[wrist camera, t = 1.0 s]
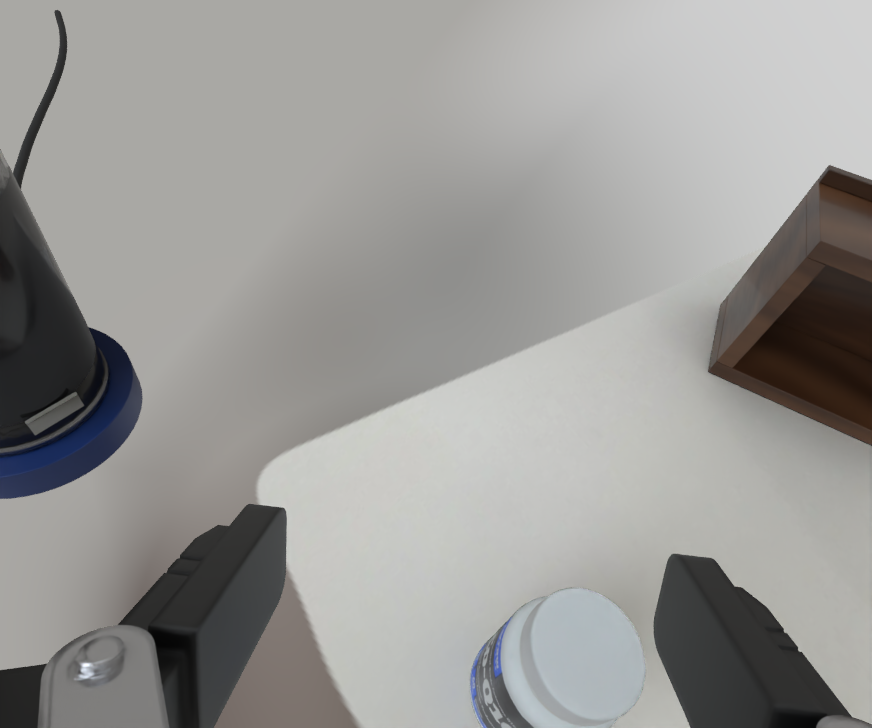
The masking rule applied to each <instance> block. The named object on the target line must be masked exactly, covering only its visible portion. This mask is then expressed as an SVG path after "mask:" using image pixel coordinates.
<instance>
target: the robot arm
mask: <svg viewBox="0 0 872 728" xmlns="http://www.w3.org/2000/svg"><path fill="white" fill-rule="evenodd" d="M55 16H56V20H57V23H58V27H59V33H60V48H59V55H58V59H57V63H56V67H55V70H54V73H53V76H52V78H51V80H50V83H49V86H48V88H47V90H46V92H45V94H44V97H43V99H42V101H41V103H40V105H39V107H38V109H37V111H36V113H35V116H34V118H33V120H32V123H31V125H30V127H29V129H28V132H27V134H26V137H25V139H24V141H23V144H22V147H21V150H20V153H19V156H18V159H17V162H16V165H15V168H14V172H13V173H12V171H11V169H10V167H9V166H8V164H7V162H6V160H5V158H4V156H3V154H2V152H1V149H0V458H1V457H9V456H15V455H20V454H24V453H28V452H31V451H35V450H37V449H40V448H43V447H45V446H48V445H50V444H52V443H54V442H56V441H58V440H60V439H62V438H64V437H66V436H67V435H69V434H70V433H72V432H73V431H75V430H76V429H78V428H79V427H80V426H81V425H83V424H84V423H85V422H86V421H87V420H88V419H89V418H90V417H91V416H92V415H93V414H94V413H95V412H96V411H97V409H98V408H99V407H100V405H101V404H102V402H103V401H104V399H105V397H106V395H107V392H108V389H109V385H110V369H109V366H108V363H107V361H106V359H105V357H104V355H103V353H102V351H101V350H100V349H99V347H98V346H97V345H96V343H95V341H94V339H93V337H92V334H91V332H90V330H89V328H88V326H87V324H86V321H85V319H84V317H83V315H82V313H81V311H80V309H79V307H78V305H77V303H76V301H75V299H74V297H73V295H72V293H71V291H70V289H69V287H68V285H67V283H66V281H65V279H64V277H63V275H62V273H61V271H60V269H59V267H58V265H57V262H56V260H55V258H54V256H53V254H52V252H51V250H50V248H49V246H48V245H47V242H46V240H45V238H44V236H43V234H42V232H41V230H40V228H39V226H38V224H37V222H36V220H35V218H34V216H33V214H32V212H31V210H30V208H29V206H28V203H27V202H26V199H25V197H24V195H23V193H22V191H21V184H22V179H23V175H24V172H25V169H26V166H27V162H28V159H29V156H30V152H31V149H32V146H33V143H34V141H35V138H36V136H37V133H38V131H39V128H40V126H41V124H42V121H43V119H44V116H45V114H46V112H47V109H48V107H49V105H50V103H51V101H52V99H53V96H54V94H55V92H56V89H57V86H58V84H59V81H60V78H61V76H62V73H63V69H64V65H65V60H66V53H67V36H66V30H65V25H64V22H63V19H62V15H61V12H60V11H58V10H55ZM286 524H287V517H286V511H285V509H284V508H280V507H271V506H263V505H254V504H248V505H247V506H246V507H245V508H244V509H243V510H242V511H241V512H240V514H239V515H238V516H237V517H236V519H235V520H234V521H233V522H232V523H231V525H230V526H221V525H217V526H216V527H214V528H212V529H211V530H209V531H207V532H205V533H204V534H202V535H200V536H199V537H197V538H195V539H194V541H193V542H192V543H191V544H190V545H189V546H188V547H187V548H186V549H185V551H184V552H183V553H182V554H181V555H180V558H179V559H177V560H176V561H175V562H174V563H173V564H172V565H171V566H170V567H169V568H168V571H167V573H164V574H163V575H162V576H161V577H160V578H159V580H158V581H157V582H156V583H155V584H154V585H153V586H152V587H151V588H150V590H149V591H148V592H147V593H146V594H145V595H144V596H143V597H142V599H141V600H140V601H139V602H138V603H137V604H136V605H135V606H134V607H133V609H132V610H131V611H130V612H129V613H128V614H127V615H126V616H125V617H124V619H123V620H122V621H121V622H120V623H119V624H118V625H115V626H109V627H104V628H100V629H97V630H94V631H91V632H89V633H86V634H84V635H82V636H80V637H78V638H76V639H74V640H73V641H71V642H70V643H68V644H67V645H65V646H64V647H63V648H61V650H59V651H58V652H57V653H56V654H55V655H54V656H53V657H52V658H51V660H50V661H49V662H48V664H43V665H37V666H29V667H21V668H14V669H7V670H0V728H214V726H215V724H216V722H217V720H218V718H219V716H220V714H221V712H222V710H223V709H224V707H225V705H226V703H227V701H228V699H229V697H230V695H231V693H232V691H233V689H234V687H235V685H236V684H237V682H238V680H239V678H240V676H241V674H242V672H243V670H244V668H245V666H246V664H247V662H248V660H249V658H250V657H251V655H252V652H253V651H254V649H255V647H256V645H257V643H258V641H259V639H260V637H261V635H262V633H263V632H264V630H265V628H266V626H267V624H268V622H269V620H270V618H271V616H272V614H273V612H274V610H275V608H276V607H277V605H278V603H279V600H280V597H281V594H282V591H283V587H284V582H285V575H286ZM654 638H655V644H656V648H657V651H658V654H659V656H660V658H661V660H662V663H663V665H664V667H665V670H666V672H667V674H668V676H669V679H670V681H671V683H672V686H673V688H674V690H675V692H676V695H677V697H678V699H679V702H680V704H681V706H682V709H683V711H684V713H685V715H686V718H687V720H688V722H689V725H690V727H691V728H872V724H869V723H867V722H864V721H862V720H859V719H856V718H852V716H851V715H850V714H849V713H848V711H847V710H846V709H845V707H844V706H843V705H842V703H841V702H840V701H839V700H838V698H837V697H836V696H835V694H834V693H833V692H832V691H831V689H830V688H829V687H828V685H827V684H826V683H825V682H824V680H823V679H822V678H821V676H820V675H819V674H818V673H817V671H816V670H815V669H814V667H813V666H812V665H811V664H810V662H809V661H808V660H807V658H806V657H805V656H804V655H803V653H802V652H798V647H797V646H796V644H795V643H794V642H793V640H792V639H791V638H790V637H789V635H788V634H787V633H784V629H783V628H782V626H781V625H780V624H779V622H778V621H777V620H776V619H775V617H774V616H773V615H772V613H771V612H770V611H769V610H768V608H767V607H766V606H765V605H763V604H762V603H761V602H759V601H758V600H757V599H756V598H754V597H753V596H752V595H751V594H749V593H748V592H747V591H745V590H744V589H743V588H741V587H734V585H733V584H732V583H731V581H730V580H729V578H728V577H727V576H726V574H725V573H724V572H723V570H722V569H721V567H720V566H719V565H718V563H717V562H716V561H715V560H714V559H712V558H706V557H697V556H689V555H680V554H672V555H671V556H670V557H669V559H668V561H667V565H666V569H665V573H664V578H663V582H662V586H661V591H660V595H659V599H658V604H657V608H656V612H655V617H654Z"/></svg>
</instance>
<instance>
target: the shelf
mask: <svg viewBox="0 0 872 728" xmlns="http://www.w3.org/2000/svg"><path fill="white" fill-rule="evenodd" d="M708 372H710V373H712V374H714V375H717V376H719V377H721V378H723V379H725V380H728V381H730V382H732V383H734V384H737V385H739V386H741V387H743V388H745V389H748V390H750V391H752V392H754V393H757V394H759V395H761V396H763V397H765V398H768V399H770V400H772V401H774V402H777V403H779V404H781V405H783V406H785V407H788V408H790V409H792V410H794V411H797V412H799V413H801V414H803V415H806V416H808V417H810V418H812V419H814V420H817V421H819V422H821V423H823V424H826V425H828V426H830V427H832V428H834V429H837V430H839V431H841V432H843V433H846V434H848V435H850V436H852V437H854V438H857V439H859V440H861V441H863V442H866V443H868V444H870V445H872V180H870V179H867V178H864V177H861V176H859V175H856V174H853V173H850V172H847V171H844V170H841V169H839V168H836V167H833V166H830V165H829V166H828V167H827V169H826V170H825V171H824V172H823V174H822V175H821V176H820V178H819V179H818V180H817V181H816V183H815V184H814V185H813V186H812V188H811V189H810V190H809V192H808V193H807V195H806V196H805V197H804V198H803V200H802V201H801V202H800V203H799V205H798V206H797V207H796V208H795V210H794V211H793V212H792V214H791V215H790V216H789V217H788V219H787V220H786V221H785V223H784V224H783V225H782V227H781V228H780V229H779V230H778V232H777V233H776V234H775V236H774V237H773V238H772V239H771V241H770V242H769V243H768V245H767V246H766V247H765V248H764V250H763V251H762V252H761V254H760V255H759V256H758V257H757V259H756V260H755V261H754V263H753V264H752V265H751V266H750V268H749V269H748V270H747V272H746V273H745V274H744V275H743V277H742V278H741V279H740V281H739V282H738V283H737V285H736V286H735V287H734V288H733V290H732V291H731V292H730V294H729V295H728V296H727V297H726V299H725V300H724V301H723V303H722V304H721V306H720V311H719V316H718V321H717V327H716V332H715V337H714V342H713V348H712V353H711V358H710V363H709V369H708Z"/></svg>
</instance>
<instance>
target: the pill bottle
mask: <svg viewBox="0 0 872 728" xmlns="http://www.w3.org/2000/svg"><path fill="white" fill-rule="evenodd" d="M645 674H646V665H645V656H644V651H643V647H642V644H641V641H640V638H639V636H638V634H637V632H636V630H635V628H634V626H633V624H632V623H631V621H630V620H629V618H628V617H627V616H626V615H625V613H624V612H623V611H622V610H621V609H620V608H619V607H618V606H617V605H616V604H615V603H613V602H612V601H611V600H610V599H608V598H607V597H605V596H603V595H601V594H600V593H597V592H595V591H592V590H589V589H585V588H566V589H562V590H559V591H556V592H554V593H553V594H551V595H550V596H546V597H541V598H537V599H535V600H532V601H530V602H528V603H527V604H525V605H523V606H522V607H521V608H519V609H518V610H517V611H516V612H515V613H514V615H513V616H512V617H511V618H510V619H509V620H508V621H507V622H506V623H505V624H504V625H503V626H502V627H501V628H500V629H499V630H498V631H497V632H496V634H495V635H494V636H493V637H491V638H490V639H489V640H488V641H487V642H486V643H485V645H484V646H483V647H482V649H481V650H480V651H479V653H478V655H477V657H476V659H475V661H474V663H473V666H472V670H471V676H470V695H471V701H472V706H473V709H474V712H475V715H476V718H477V720H478V722H479V724H480V726H481V727H482V728H611V727H612V725H613V724H614V723H615V721H616V720H617V719H618V717H621V716H622V715H624V714H626V713H627V712H628V711H629V710H630V709H631V708H632V707H633V706H634V705H635V703H636V702H637V700H638V698H639V697H640V694H641V692H642V690H643V686H644V681H645Z"/></svg>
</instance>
